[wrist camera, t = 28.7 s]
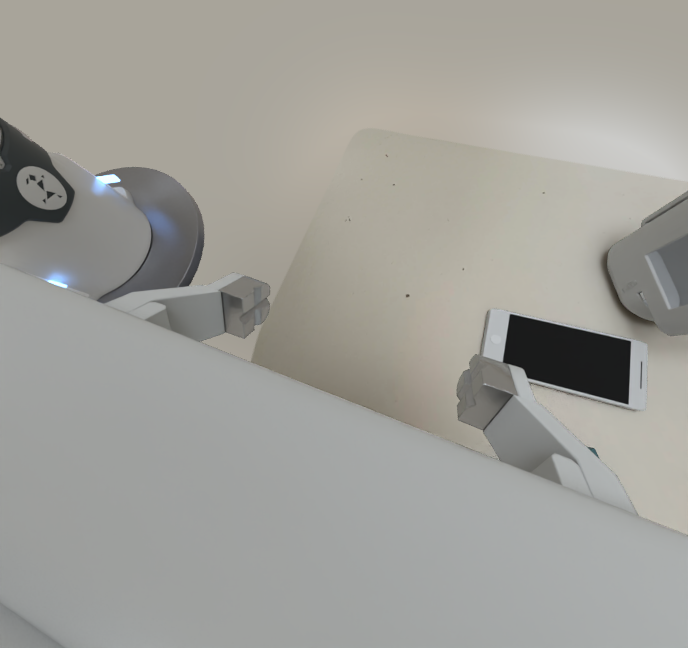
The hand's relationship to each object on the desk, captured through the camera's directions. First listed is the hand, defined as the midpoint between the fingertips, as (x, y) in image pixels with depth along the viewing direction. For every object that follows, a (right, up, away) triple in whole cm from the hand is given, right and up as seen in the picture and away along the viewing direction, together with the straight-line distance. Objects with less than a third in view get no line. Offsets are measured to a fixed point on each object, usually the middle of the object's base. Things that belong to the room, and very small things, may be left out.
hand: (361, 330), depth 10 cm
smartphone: (+22, -3, +18) cm, 29 cm away
